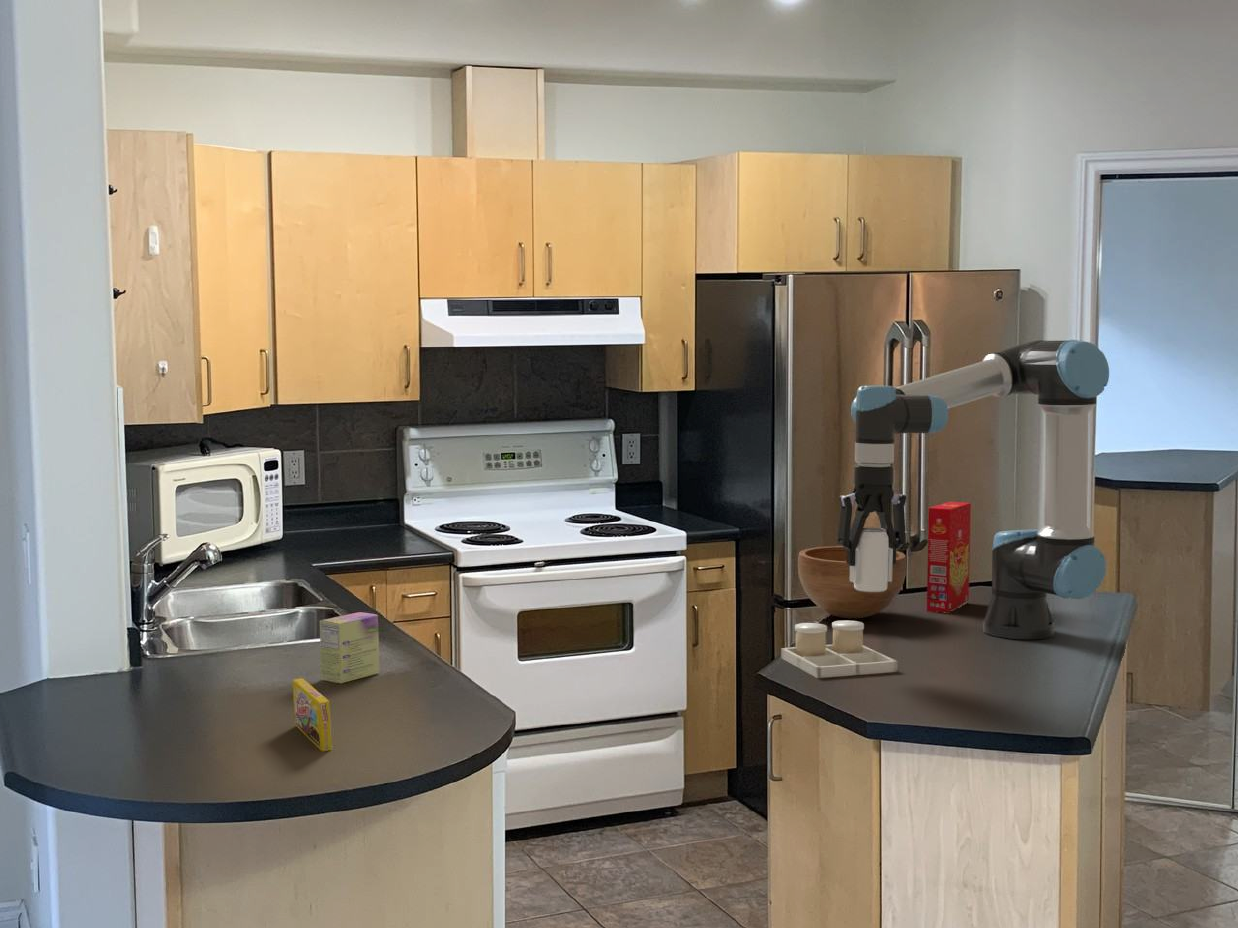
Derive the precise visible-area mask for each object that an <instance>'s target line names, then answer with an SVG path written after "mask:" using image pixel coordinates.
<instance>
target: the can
mask: <svg viewBox="0 0 1238 928" xmlns="http://www.w3.org/2000/svg"><path fill="white" fill-rule="evenodd" d="M886 531H887V530H886V529H882V527H881V528H880V527H863V530H862V533H861V536H860V539H859V542H858V545H857V548H856V549H858V550H860V583H854V588H855V589H856V590H857V591H861V592H871V593H877V592H884V591H886V589H887V581H888V545H889V538H888V535H887V533H886Z"/></svg>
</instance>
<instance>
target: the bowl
mask: <svg viewBox="0 0 1238 928" xmlns="http://www.w3.org/2000/svg"><path fill="white" fill-rule="evenodd" d="M846 556H847V549H846V548H845V547H843V546H841V545H835V546H831V545H830V546H829V545H827V546H818V547H817V546H816V547H810V548H805V549H802V550H799V552H798V555H797V570H798V572H797V573H798V577H799V580H800V585H801V586H802V588H803V590H804V592H805V593H806V595H807V596H808V599H810V601H812V602H813V604H815V605H816V606H817V607H818V608H819V609H821V610H822V611H823V612H826V613H827V614H830V615H832V616H835V617H836V618H837V617H838V618H842V619H848V620H849V619H850V620H851V619H853V620H856V619H864V618H868V617H871V616H874V615H877V614H878V613H880V612H881V611H883V610H884V609H886V608H887V607H889V606H890V605H891V603H893V601H894V600H895V599H896V597H897V596H898V595H899V593H900V592H901V590H902V588H903V586H904V585H903V584H904V582H905V578H906V574H907V558H906V554H904V552H901V551H898V550H896V563H895V564H892V582H888V581H887V589H886V591H884V592H877V593H871V592H861V591H857V590H856V589H855V588H854V582H851V581H850V566H849V565H847V563H846V560H847V559H846V558H847V557H846Z"/></svg>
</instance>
